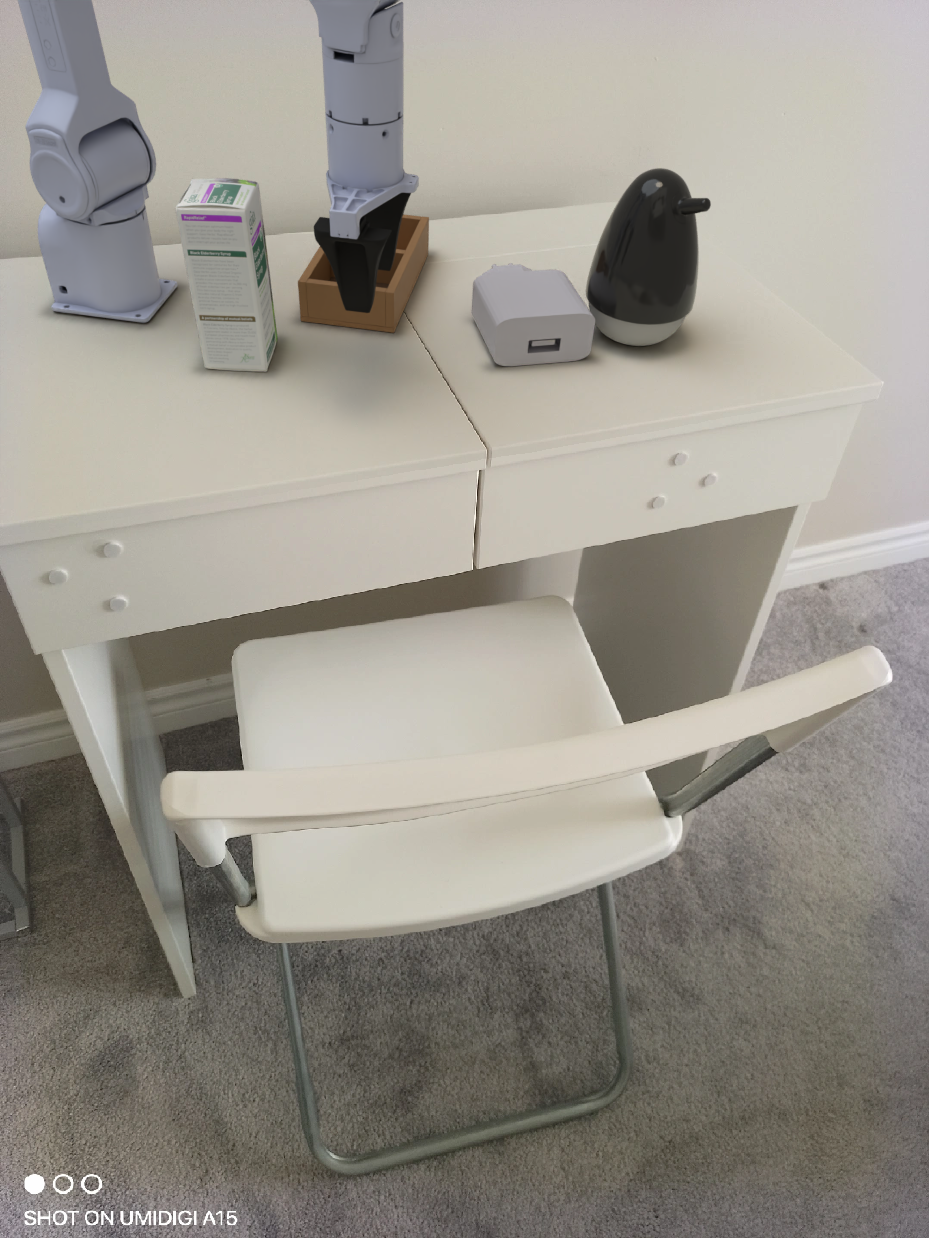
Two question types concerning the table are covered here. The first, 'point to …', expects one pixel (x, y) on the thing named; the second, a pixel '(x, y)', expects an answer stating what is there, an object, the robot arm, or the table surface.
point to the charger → (531, 316)
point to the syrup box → (228, 272)
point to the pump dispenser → (647, 261)
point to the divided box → (391, 286)
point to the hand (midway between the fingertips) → (369, 288)
